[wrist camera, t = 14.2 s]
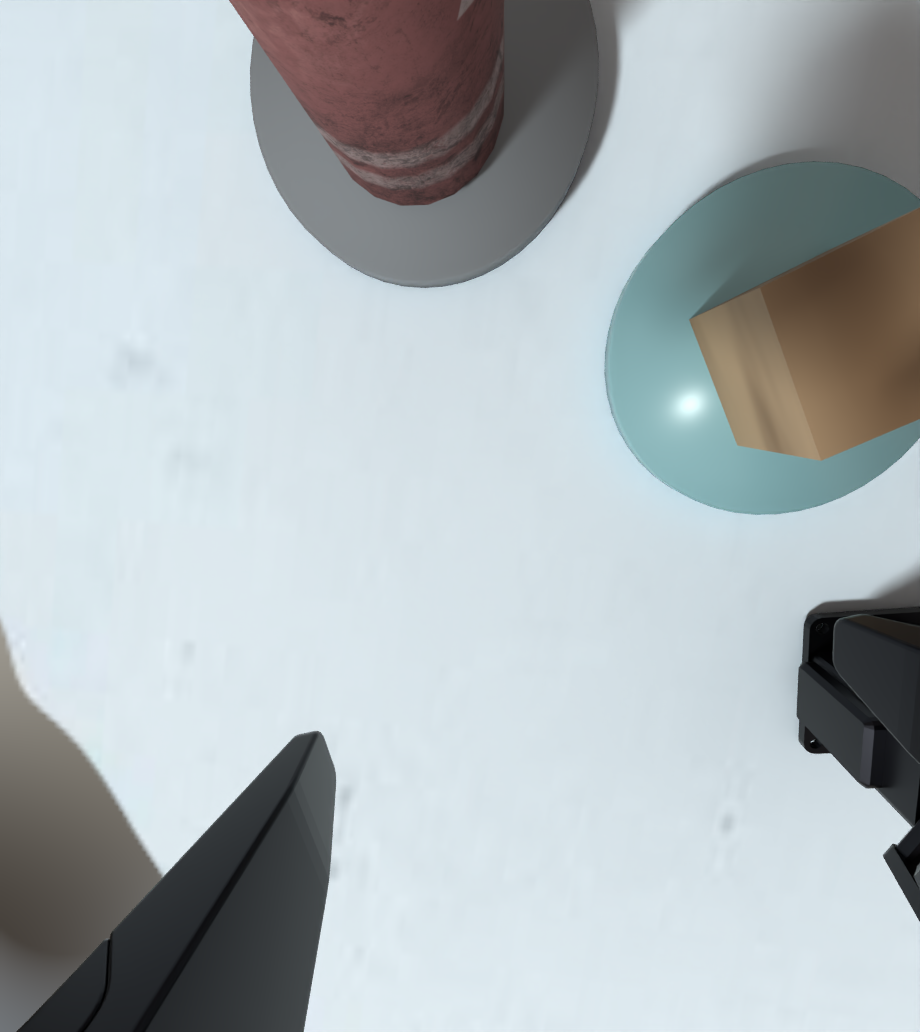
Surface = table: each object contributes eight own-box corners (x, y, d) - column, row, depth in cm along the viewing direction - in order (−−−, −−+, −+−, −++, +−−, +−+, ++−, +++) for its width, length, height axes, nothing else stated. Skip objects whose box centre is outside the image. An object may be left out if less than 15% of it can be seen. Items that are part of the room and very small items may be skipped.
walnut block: (831, 248, 17) (967, 184, 12) (875, 384, 17) (1019, 376, 13) (688, 319, 17) (759, 287, 13) (737, 445, 18) (821, 460, 13)
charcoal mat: (582, -135, 16) (589, -177, 15) (599, 264, 18) (606, 255, 17) (236, -55, 17) (217, -88, 16) (297, 306, 20) (285, 300, 19)
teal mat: (954, 151, 17) (988, 132, 15) (921, 494, 19) (948, 500, 18) (597, 206, 18) (604, 192, 17) (610, 520, 21) (617, 527, 19)
